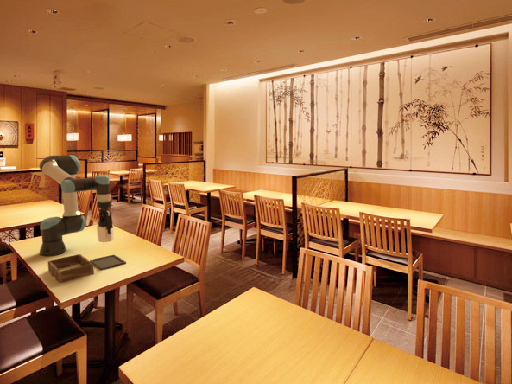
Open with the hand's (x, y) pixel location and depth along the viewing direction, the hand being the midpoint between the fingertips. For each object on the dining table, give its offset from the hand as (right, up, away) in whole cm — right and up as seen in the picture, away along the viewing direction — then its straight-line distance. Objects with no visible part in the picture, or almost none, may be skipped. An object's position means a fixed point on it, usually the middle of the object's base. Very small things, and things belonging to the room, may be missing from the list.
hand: (106, 237), depth 200 cm
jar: (-1, -2, +1) cm, 2 cm away
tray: (0, -16, +3) cm, 16 cm away
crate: (-15, -19, -12) cm, 27 cm away
